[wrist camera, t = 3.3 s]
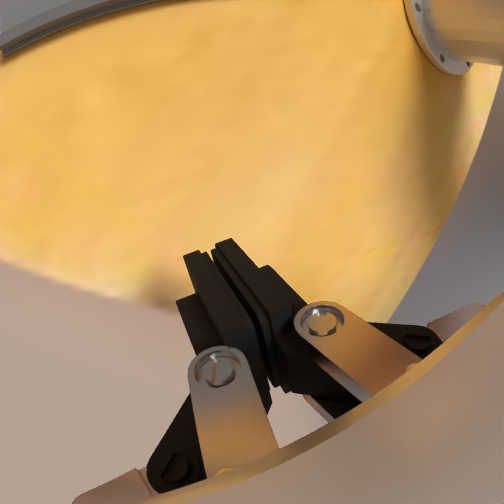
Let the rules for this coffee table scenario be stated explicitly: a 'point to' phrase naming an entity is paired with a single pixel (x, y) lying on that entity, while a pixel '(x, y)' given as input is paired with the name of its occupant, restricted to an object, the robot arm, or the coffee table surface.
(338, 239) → the coffee table surface
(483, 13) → the robot arm
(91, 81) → the coffee table surface
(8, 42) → the slate mat
